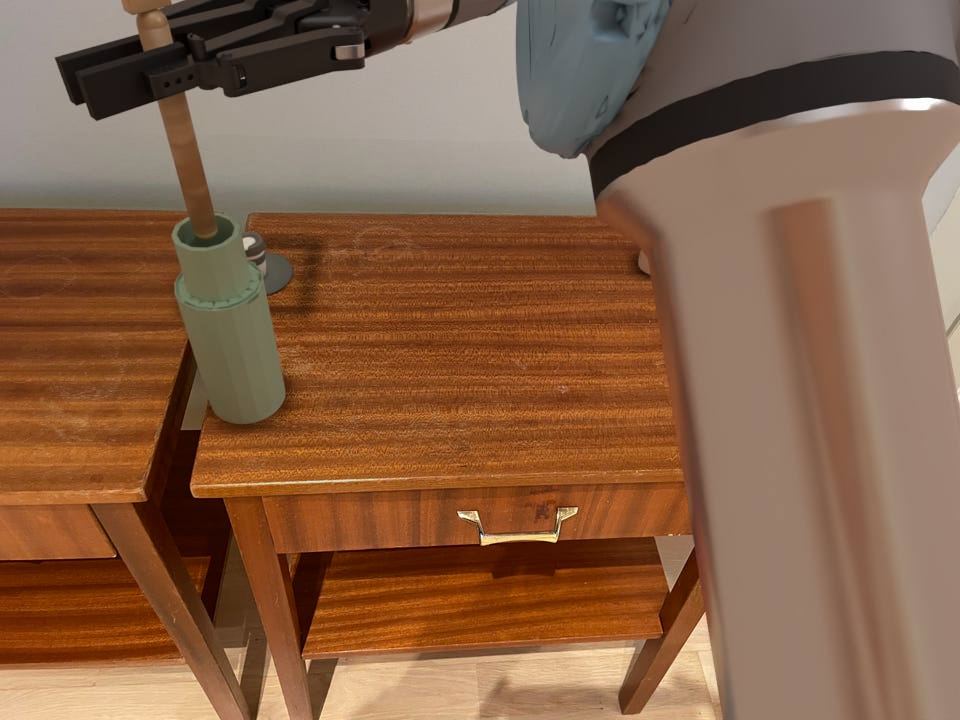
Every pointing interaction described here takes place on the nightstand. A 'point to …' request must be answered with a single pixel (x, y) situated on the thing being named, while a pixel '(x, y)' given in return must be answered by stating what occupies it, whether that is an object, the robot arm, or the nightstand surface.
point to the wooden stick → (177, 122)
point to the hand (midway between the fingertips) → (76, 89)
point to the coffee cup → (267, 262)
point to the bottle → (228, 323)
